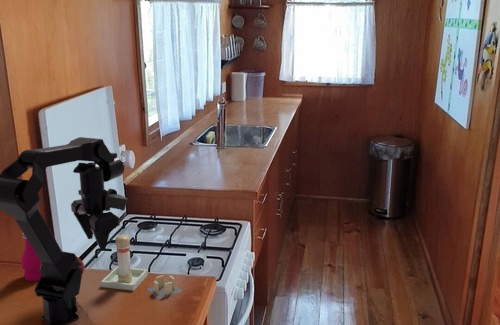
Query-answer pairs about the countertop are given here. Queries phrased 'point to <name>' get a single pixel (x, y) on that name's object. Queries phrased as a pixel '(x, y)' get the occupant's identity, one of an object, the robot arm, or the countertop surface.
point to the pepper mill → (30, 262)
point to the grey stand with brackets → (164, 288)
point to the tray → (112, 282)
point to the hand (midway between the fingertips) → (96, 244)
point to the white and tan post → (123, 259)
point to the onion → (81, 264)
